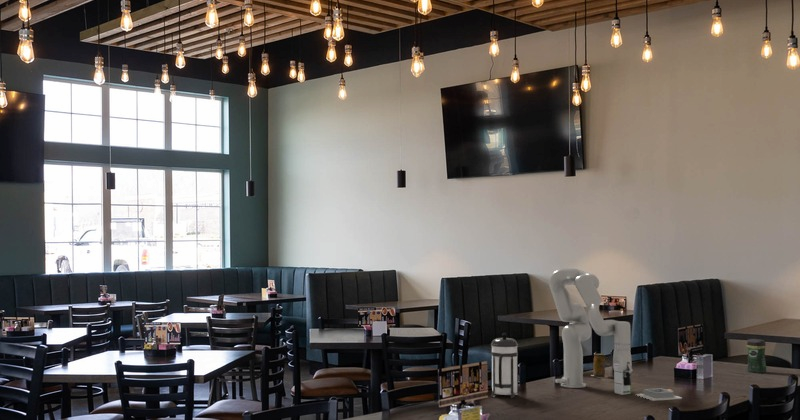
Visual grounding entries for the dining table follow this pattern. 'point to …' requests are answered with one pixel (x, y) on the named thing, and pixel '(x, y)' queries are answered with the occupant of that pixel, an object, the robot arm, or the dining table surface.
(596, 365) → the condiment
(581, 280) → the robot arm
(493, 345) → the coffee press
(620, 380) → the syrup box
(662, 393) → the chassis plate
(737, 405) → the dining table surface
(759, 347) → the coffee jar
